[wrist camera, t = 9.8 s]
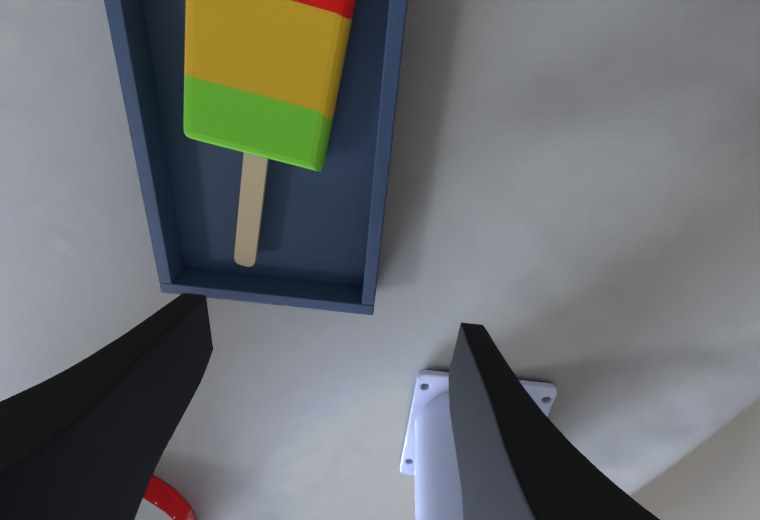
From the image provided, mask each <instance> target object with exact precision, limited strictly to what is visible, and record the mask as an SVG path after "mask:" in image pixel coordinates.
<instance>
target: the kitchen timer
mask: <svg viewBox="0 0 760 520" xmlns="http://www.w3.org/2000/svg"><path fill="white" fill-rule="evenodd" d="M134 520H196V518H195V516H194V514H193V512H192V509H191V507H190V505H189V504H188V503H187V502H186V501H185V500H184V499H183V498H182V497H181V495H180V494H179V493H178V492H177V491H176V490H174V489H173V488H172V487H170V486H169V485H167V484H166V483H164V482H163V481H161V480H160V479H158V478H157V477H155V476H153V475H152V477H151V480H150V482H149V485H148V487H147V489H146V492H145V494H144V497H143V499H142V501H141V504H140V507H139V509H138V512H137V514H136V517H135V519H134Z"/></svg>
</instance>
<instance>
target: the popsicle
mask: <svg viewBox="0 0 760 520" xmlns="http://www.w3.org/2000/svg"><path fill="white" fill-rule="evenodd" d="M355 3H356V0H186V15H185V67H184V119H183V129H184V133H185V135H186V136H187V137H188V138H191V139H194V140H198V141H202V142H206V143H210V144H214V145H218V146H221V147H225V148H229V149H233V150H237V151H241V152H244V155H243V166H242V177H241V188H240V198H239V209H238V220H237V231H236V241H235V252H234V259H235V261H236V263H238V264H239V265H242V266H247V267H250V266H253V265H254V263H255V261H256V258H257V250H258V242H259V234H260V226H261V218H262V210H263V202H264V194H265V186H266V178H267V170H268V162H269V159H272V160H276V161H280V162H284V163H288V164H292V165H296V166H299V167H303V168H307V169H311V170H315V171H319V172H320V171H321V170H322V169H323V167H324V163H325V158H326V153H327V148H328V143H329V137H330V132H331V127H332V122H333V117H334V112H335V106H336V101H337V96H338V91H339V86H340V81H341V75H342V70H343V65H344V60H345V55H346V50H347V44H348V39H349V34H350V29H351V24H352V19H353V13H354V8H355Z"/></svg>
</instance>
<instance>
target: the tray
mask: <svg viewBox="0 0 760 520" xmlns="http://www.w3.org/2000/svg"><path fill="white" fill-rule="evenodd" d="M407 1H408V0H356V3H355V8H354V13H353V19H352V24H351V29H350V34H349V39H348V44H347V50H346V55H345V60H344V65H343V70H342V75H341V81H340V86H339V91H338V96H337V101H336V106H335V112H334V117H333V122H332V127H331V132H330V137H329V143H328V148H327V153H326V158H325V163H324V167H323V169H322V170H321V171H320V172H319V171H315V170H311V169H307V168H303V167H299V166H296V165H292V164H288V163H284V162H280V161H276V160H272V159H269V162H268V170H267V178H266V186H265V194H264V202H263V210H262V218H261V226H260V234H259V242H258V250H257V258H256V261H255V263H254V265H253V266H250V267H247V266H242V265H239V264H238V263H236V261H235V259H234V252H235V241H236V231H237V220H238V209H239V198H240V188H241V177H242V166H243V155H244V152H241V151H237V150H233V149H229V148H225V147H221V146H218V145H214V144H210V143H206V142H202V141H198V140H194V139H191V138H188V137H187V136H186V135H185V133H184V129H183V119H184V67H185V15H186V0H104V2H105V7H106V12H107V17H108V22H109V27H110V32H111V38H112V43H113V48H114V53H115V58H116V63H117V68H118V73H119V78H120V83H121V88H122V94H123V99H124V104H125V109H126V114H127V119H128V124H129V129H130V134H131V139H132V145H133V150H134V155H135V160H136V165H137V170H138V175H139V180H140V185H141V190H142V195H143V201H144V206H145V211H146V216H147V221H148V226H149V231H150V236H151V241H152V246H153V251H154V257H155V262H156V267H157V272H158V277H159V282H160V287H161V292H162V293H171V294H181V295H182V294H183V293H192V294H201V295H206V297H208V298H218V299H227V300H236V301H245V302H255V303H264V304H273V305H282V306H291V307H301V308H310V309H319V310H328V311H338V312H347V313H356V314H365V315H373V311H374V302H375V293H376V284H377V275H378V266H379V257H380V247H381V238H382V229H383V220H384V211H385V202H386V193H387V184H388V175H389V165H390V156H391V147H392V138H393V129H394V120H395V111H396V102H397V93H398V83H399V74H400V65H401V56H402V47H403V38H404V29H405V20H406V10H407Z"/></svg>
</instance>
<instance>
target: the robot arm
mask: <svg viewBox="0 0 760 520" xmlns="http://www.w3.org/2000/svg"><path fill="white" fill-rule="evenodd" d="M212 351H213V345H212V338H211V331H210V323H209V316H208V308H207V301H206V295H201V294H192V293H183V294H182V295H180V296H178V297H177V298H176V299H174V300H173V301H171V302H170V303H168V304H167V305H166V306H164V307H163V308H161V309H160V310H159V311H157V312H156V313H154V314H153V315H152V316H150V317H149V318H147V319H146V320H144V321H143V322H142V323H140V324H139V325H137V326H136V327H134V328H133V329H131V330H130V331H128V332H127V333H126V334H124V335H123V336H121V337H119V338H118V339H116V340H115V341H113V342H112V343H110V344H108V345H107V346H105V347H104V348H102V349H100V350H99V351H97V352H96V353H94V354H93V355H91V356H89V357H88V358H86V359H84V360H83V361H81V362H79V363H77V364H76V365H74V366H72V367H70V368H69V369H67V370H65V371H63V372H61V373H59V374H57V375H55V376H53V377H52V378H50V379H48V380H46V381H44V382H42V383H40V384H38V385H36V386H33V387H31V388H29V389H27V390H25V391H23V392H20V393H18V394H16V395H14V396H12V397H10V398H8V399H5V400H3V401H1V402H0V520H134V519H135V517H136V514H137V512H138V509H139V507H140V504H141V501H142V499H143V497H144V494H145V492H146V489H147V487H148V485H149V482H150V480H151V477H152V475H153V473H154V470H155V468H156V466H157V464H158V462H159V460H160V458H161V455H162V453H163V451H164V450H165V448H166V446H167V444H168V442H169V440H170V438H171V437H172V435H173V433H174V431H175V429H176V427H177V425H178V424H179V422H180V420H181V418H182V416H183V414H184V413H185V411H186V409H187V407H188V405H189V403H190V401H191V399H192V398H193V396H194V394H195V392H196V390H197V388H198V386H199V384H200V382H201V380H202V378H203V375H204V372H205V370H206V367H207V365H208V362H209V359H210V356H211V354H212ZM423 384H427V385H423ZM556 395H557V389H556V387H555V385H553V384H551V383H544V382H534V381H525V380H518V378H517V377H516V375H515V374H514V373H513V371H512V370H511V368H510V367H509V365H508V364H507V362H506V361H505V359H504V358H503V356H502V355H501V353H500V351H499V350H498V348H497V347H496V345H495V343H494V342H493V340H492V338H491V337H490V335H489V333H488V332H487V330H486V329H485V327H484V326H483V325H478V324H469V323H461V325H460V329H459V333H458V338H457V342H456V346H455V350H454V354H453V358H452V362H451V366H450V370H449V372H442V371H432V370H422V371H420V372H419V373H418V375H417V379H416V384H415V390H414V395H413V400H412V405H411V410H410V416H409V421H408V426H407V431H406V436H405V442H404V447H403V452H402V457H401V462H400V471H401V473H403V474H406V475H415V520H660V519H658V518H657V517H656V516H654V515H653V514H652V513H650V512H649V511H648V510H646V509H645V508H643V507H642V506H641V505H640V504H639V503H637V502H636V501H635V500H634V499H632V498H631V497H630V496H629V495H628V494H626V493H625V492H624V491H623V490H621V489H620V488H619V487H618V486H617V485H615V484H614V483H613V482H612V481H611V480H610V479H609V478H607V477H606V476H605V475H604V474H603V473H602V472H601V471H599V470H598V469H597V468H596V467H595V466H594V465H593V464H592V463H591V462H590V461H589V460H588V459H587V458H586V457H585V456H584V455H583V454H581V453H580V452H579V451H578V450H577V449H576V448H575V447H574V446H573V445H572V444H571V443H570V442H569V441H568V440H567V438H566V437H565V436H564V435H563V434H562V433H561V432H560V431H559V430H558V429H557V428H556V426H555V425H554V424H553V423H552V422H551V421H550V420H549V419H548V417H547V416H548V414H549V412H550V409H551V407H552V405H553V402H554V400H555V398H556ZM544 397H546V398H544Z"/></svg>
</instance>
